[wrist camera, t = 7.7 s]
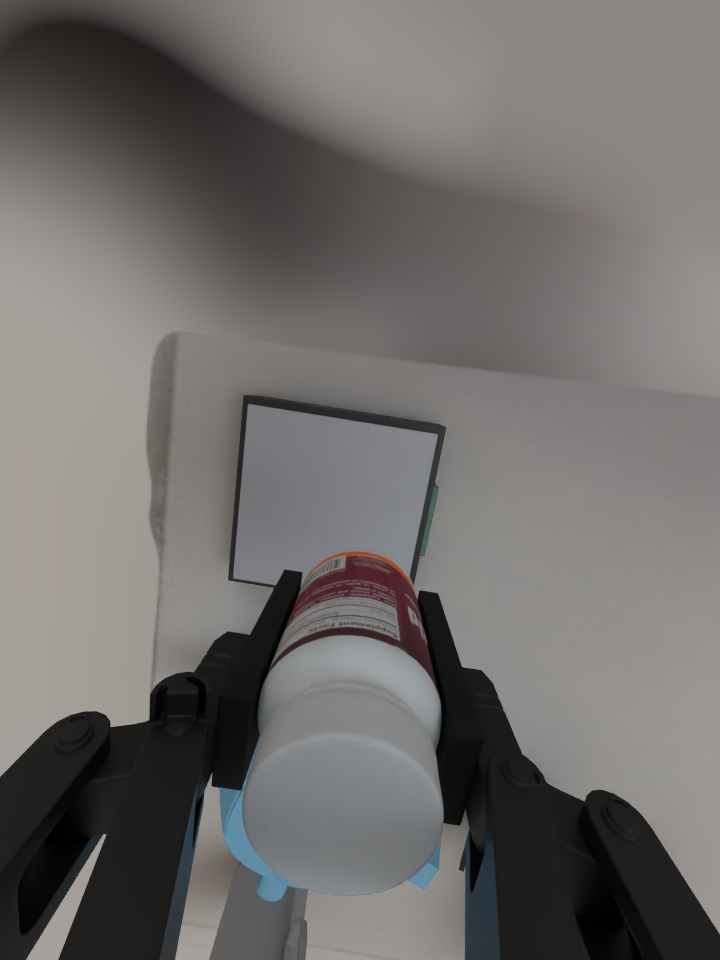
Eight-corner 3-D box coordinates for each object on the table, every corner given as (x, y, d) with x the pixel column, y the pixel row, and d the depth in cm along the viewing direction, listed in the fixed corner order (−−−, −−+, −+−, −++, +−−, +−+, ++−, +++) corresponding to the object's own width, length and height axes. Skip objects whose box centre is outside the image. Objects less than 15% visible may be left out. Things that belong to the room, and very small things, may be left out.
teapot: (471, 657, 30) (532, 821, 18) (388, 804, 33) (396, 1020, 22) (236, 565, 29) (144, 677, 17) (177, 727, 32) (68, 910, 21)
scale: (255, 395, 26) (240, 394, 23) (445, 425, 26) (454, 428, 23) (240, 565, 29) (224, 583, 26) (410, 592, 29) (415, 614, 26)
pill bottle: (412, 650, 16) (455, 919, 8) (301, 645, 16) (226, 904, 8) (420, 545, 15) (477, 728, 7) (301, 541, 15) (213, 715, 7)
